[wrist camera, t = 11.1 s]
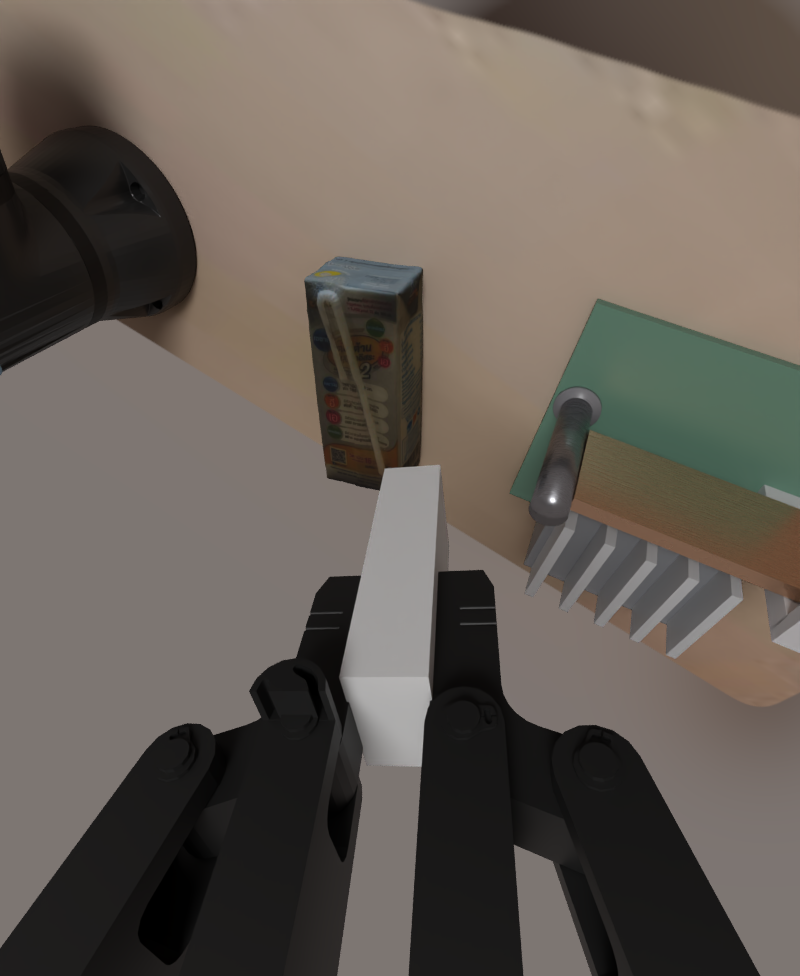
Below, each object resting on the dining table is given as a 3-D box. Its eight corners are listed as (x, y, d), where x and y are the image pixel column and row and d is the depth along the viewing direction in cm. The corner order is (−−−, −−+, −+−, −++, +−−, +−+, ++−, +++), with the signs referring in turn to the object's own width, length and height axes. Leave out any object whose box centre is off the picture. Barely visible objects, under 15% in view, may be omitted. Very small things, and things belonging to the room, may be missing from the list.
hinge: (555, 418, 42) (523, 516, 34) (567, 393, 40) (536, 490, 32) (790, 507, 39) (818, 638, 31) (813, 484, 37) (850, 617, 29)
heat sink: (511, 488, 50) (468, 604, 40) (597, 298, 37) (565, 402, 27) (724, 573, 47) (735, 722, 37) (903, 400, 34) (996, 560, 24)
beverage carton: (430, 263, 40) (398, 295, 35) (424, 462, 53) (399, 505, 48) (336, 251, 42) (294, 280, 38) (352, 444, 55) (322, 483, 50)
